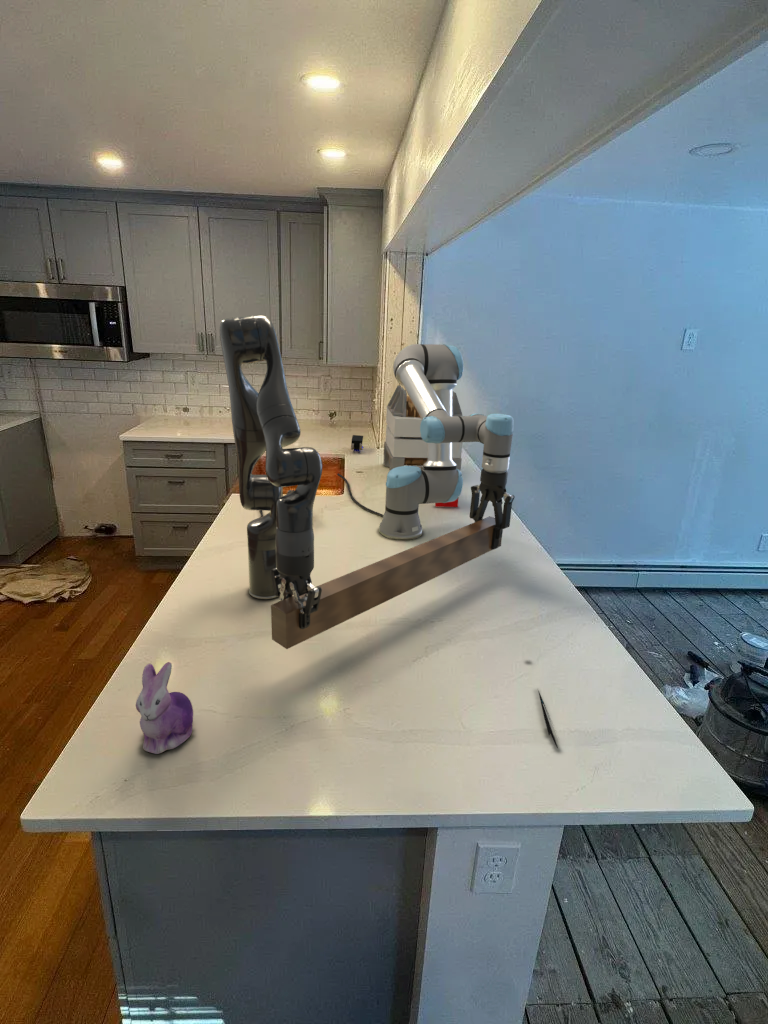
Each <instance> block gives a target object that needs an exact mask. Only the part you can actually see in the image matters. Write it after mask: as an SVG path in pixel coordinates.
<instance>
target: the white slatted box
mask: <svg viewBox="0 0 768 1024" xmlns="http://www.w3.org/2000/svg"><path fill="white" fill-rule="evenodd" d="M385 414H386V415H385V423H386V428H385V438H384V442H383V466H384V467H388V468H389V471H390V470H392V469H393V468H396V467H400V466H416V467H423V465H424V464H425V463H426V462H427V460H428V455H427V443H426V442H424V441H423V439H422V438H421V433H420V424H421V421H422V419H421V417H420V415H419V413H418V412H417V410H416V408H415V406H414V404H413V402H412V401H411V399H410V397H409V395H408V393H407V391H406V390H405V388H404V387H403V386H402V385H400V384H398V385H397V386H396V388H395V390H394V392H393V394H392V395H391V398H390V400H389V402H388V404H387V405H386V413H385ZM452 416H463V411H462V408H461V405H460V402H459V398H458V395H457V392H455V391H453V390H452ZM463 443H464V442H453V443H452V460H453V462H454V463H455V464H456V469H458V470H460V471H461V472H462V461H463V460H462V453H463Z"/></svg>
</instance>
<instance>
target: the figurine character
mask: <svg viewBox="0 0 768 1024" xmlns="http://www.w3.org/2000/svg"><path fill="white" fill-rule="evenodd" d="M363 441H364V435H360V434H359V435H357V434H352V435H351V443H350V450H351V451H352V450H353V451H352V453H355V452H358V454H360V453H361V451H362V450H363V448H364V446H363V443H364V442H363Z"/></svg>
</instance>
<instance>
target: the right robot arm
mask: <svg viewBox="0 0 768 1024" xmlns="http://www.w3.org/2000/svg"><path fill="white" fill-rule="evenodd" d="M392 368H393V369H392V370H393V375H394V378H395V380H396V382H397V383H398V385H400V386H401V387H403V389H404V390H406V393H407V396H409V397H410V399H411V401H412V402H413V404H414V406H415V408H416V410H417V412H418V413H419V415H420V417H421V419H422V421H421V424H420V433H421V438H422V439H423V441H424V442H426V443H427V455H428V460H427V462H426V463H425V464H424V465H423V466H422V467H423V468H422V469H421V467H420V466H407V465H404V466H400V467H396V468H393V469H392V470H390V469H389V470H388V472H387V475H386V482H385V504H384V505H385V507H384V508H385V509H384V513H380V512H378V511H375V510H373V509H371V508H368V507H366V506H365V505H363V504H361V503H360V502H358V500H357V499H356V498H355V497H354V495H353V493H352V491H351V487H350V483H349V481H348V479H347V478H345V477H344V476H343V475H342V474H340V473H338V472H337V474H336V475H337V476H338V477H340V478H341V479H342V480H343V481H344V482H345V484H346V487H347V492H348V494H349V497H350V499H351V501H353V502H354V504H356V505H357V506H359V507H360V508H361V509H363V510H365V511H367V512H369V513H370V514H371V513H372V514H374V515H377V516H379V517H381V518H382V519H381V522H379V526H378V533H379V534H380V535H381V536H382V537H385V538H387V539H389V540H395V541H410V540H415V539H418V538H420V537H421V536H422V535H423V525H422V524H421V518H420V515H419V507H420V505H428V504H435V503H446V502H453V501H455V500H457V498H458V497H460V496H461V493H462V491H463V485H464V478H463V473H462V470H461V471H460V470H458V469H456V464H455V463H454V462H453V460H452V443H453V442H463V443H480V444H482V445H483V447H482V449H483V450H482V460H481V468H482V469H481V470H480V476H479V477H480V478H479V481H480V483H479V485H478V484H475V485H472V486H471V487H470V491H471V499H470V507H469V519H472V520H473V521H474V522H477V521H479V520H482V519H484V516H485V513H486V510H487V507H488V504H489V502H490V503H491V504H492V507H493V514H494V518H495V524H496V527H495V528H493V536H492V545H491V549H492V550H491V551H494V550H496V549H499V547H498V546H499V539H501V538H502V539H503V533H504V530H505V529H508V528H509V527H511V517H512V506H513V502H514V500H515V494H510V493H508V492H507V487H506V486H507V483H508V476H509V472H508V470H509V468H510V460H511V450H512V444H513V443H512V442H513V437H514V436H513V435H514V422H515V421H514V418H513V416H512V415H509V414H505V413H504V414H503V413H490V414H489V413H488V415H484V414H482V413H472V414H470V415H462V416H452V392H453V390H454V388H456V386H457V385H458V383H457V382H458V381H459V380H461V378H462V377H463V372H464V359H463V355H462V353H461V351H460V350H459V348H458V347H457V346H455V345H451V344H445V343H444V344H443V343H442V344H440V343H439V344H438V343H437V344H436V343H435V344H434V343H433V344H432V343H429V344H426V343H425V344H424V343H412V344H410V345H407V346H405V347H403V349H401V350H400V351H399V352H398V353H397V355H396V357H395V359H394V361H393V366H392ZM458 499H459V498H458ZM502 532H503V533H502Z"/></svg>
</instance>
